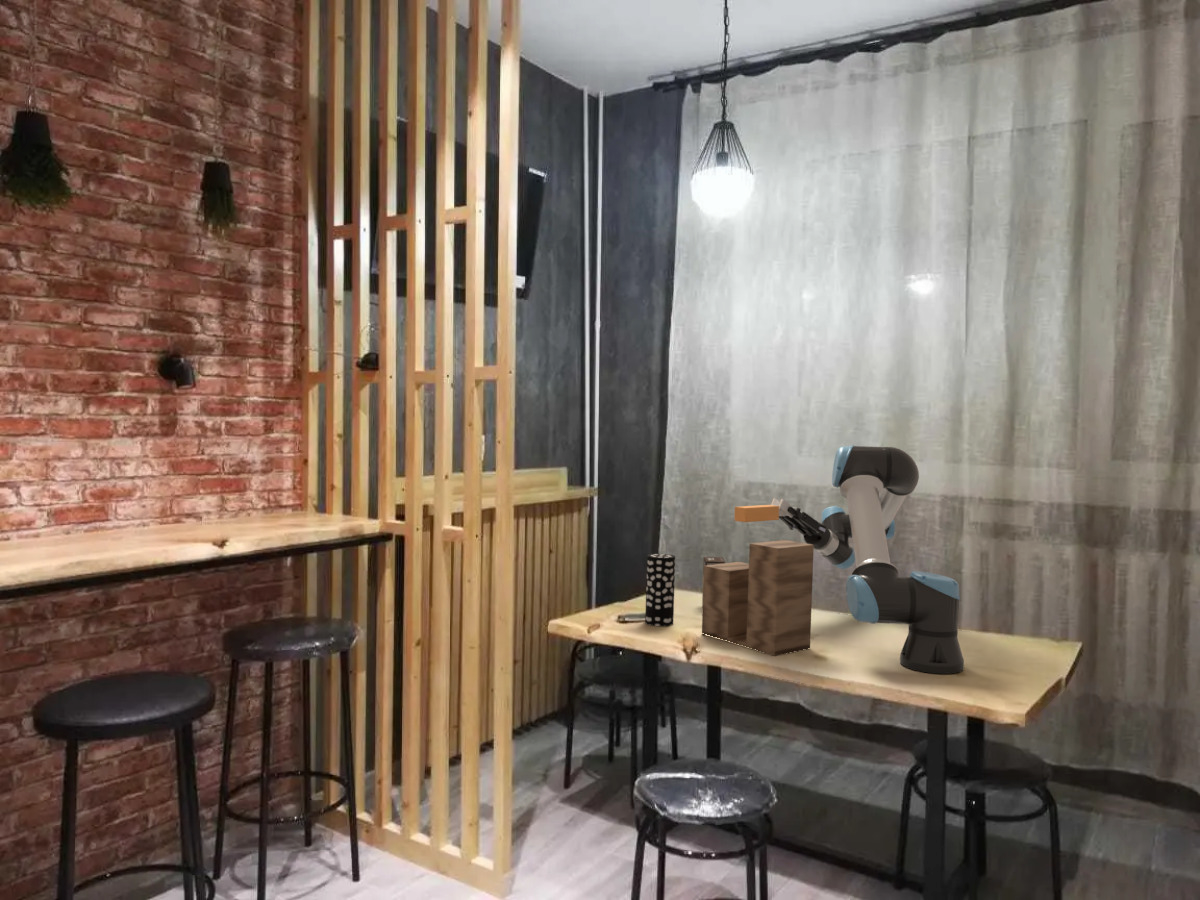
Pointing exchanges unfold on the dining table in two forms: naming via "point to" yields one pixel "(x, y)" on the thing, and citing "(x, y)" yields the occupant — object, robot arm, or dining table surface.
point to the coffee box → (711, 562)
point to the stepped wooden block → (762, 598)
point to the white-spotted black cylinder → (660, 589)
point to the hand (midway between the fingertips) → (776, 502)
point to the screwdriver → (758, 513)
